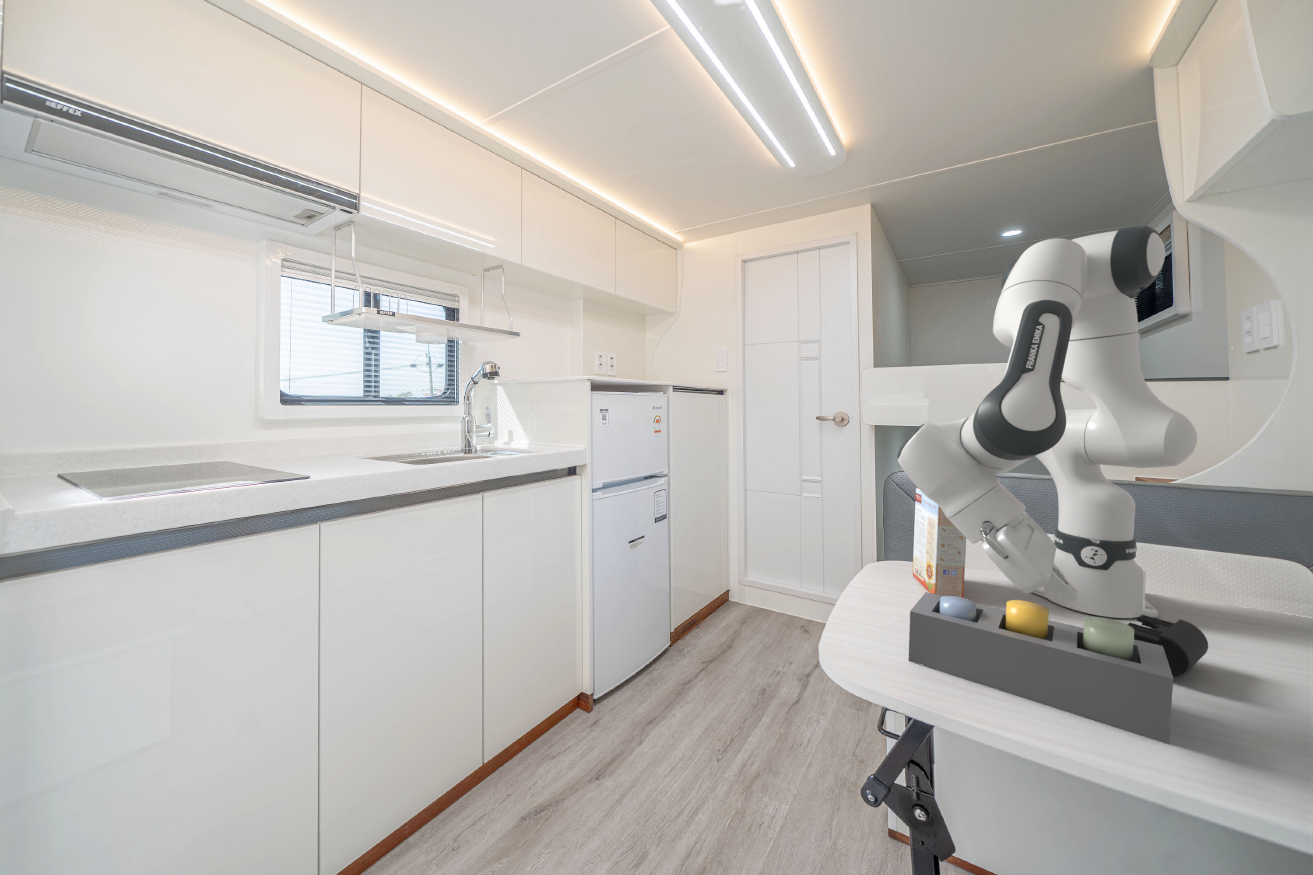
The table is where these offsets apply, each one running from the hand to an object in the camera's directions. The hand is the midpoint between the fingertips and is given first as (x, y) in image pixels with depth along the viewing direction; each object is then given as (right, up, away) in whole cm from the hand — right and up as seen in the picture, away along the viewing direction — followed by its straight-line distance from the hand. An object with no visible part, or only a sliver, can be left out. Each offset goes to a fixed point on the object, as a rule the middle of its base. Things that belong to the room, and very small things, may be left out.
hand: (1072, 598), depth 65 cm
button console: (-3, -13, +4) cm, 14 cm away
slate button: (-10, -7, +9) cm, 15 cm away
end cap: (+20, -13, +7) cm, 25 cm away
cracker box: (+5, -11, +40) cm, 41 cm away
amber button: (-4, -6, +4) cm, 8 cm away
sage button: (+3, -6, -2) cm, 7 cm away
